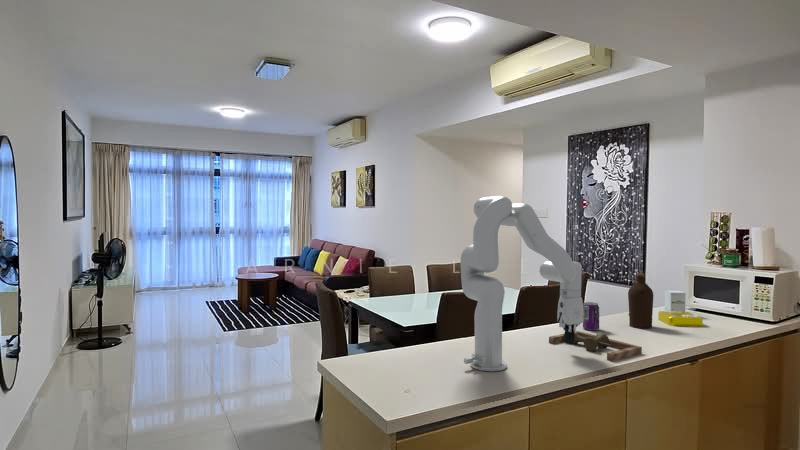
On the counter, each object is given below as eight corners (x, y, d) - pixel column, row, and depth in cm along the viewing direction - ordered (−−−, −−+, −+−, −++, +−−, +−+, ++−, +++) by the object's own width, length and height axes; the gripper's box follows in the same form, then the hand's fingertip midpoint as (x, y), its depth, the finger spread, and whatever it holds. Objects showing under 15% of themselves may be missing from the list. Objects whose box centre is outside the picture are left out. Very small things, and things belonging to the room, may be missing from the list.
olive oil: (658, 328, 211) (658, 274, 211) (638, 329, 209) (638, 275, 209) (643, 323, 221) (642, 272, 221) (623, 324, 220) (623, 272, 219)
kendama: (573, 341, 194) (618, 350, 177) (559, 345, 188) (604, 356, 172) (572, 327, 194) (618, 335, 177) (558, 331, 188) (604, 340, 172)
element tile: (688, 320, 229) (688, 310, 229) (704, 327, 214) (704, 317, 214) (656, 319, 231) (656, 310, 231) (670, 326, 216) (670, 316, 216)
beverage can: (600, 331, 207) (600, 305, 207) (584, 330, 208) (584, 304, 208) (597, 327, 214) (597, 302, 214) (581, 327, 215) (581, 301, 215)
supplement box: (670, 316, 236) (670, 292, 236) (664, 313, 243) (664, 290, 243) (685, 317, 235) (685, 292, 234) (679, 313, 242) (679, 290, 242)
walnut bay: (611, 361, 164) (611, 354, 164) (548, 342, 189) (548, 336, 189) (641, 353, 173) (641, 346, 173) (577, 336, 198) (577, 330, 198)
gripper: (565, 296, 167) (563, 346, 167) (591, 294, 175) (590, 341, 175) (549, 293, 174) (548, 341, 174) (575, 291, 181) (574, 337, 181)
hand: (569, 341), depth 174 cm, fingers closed
